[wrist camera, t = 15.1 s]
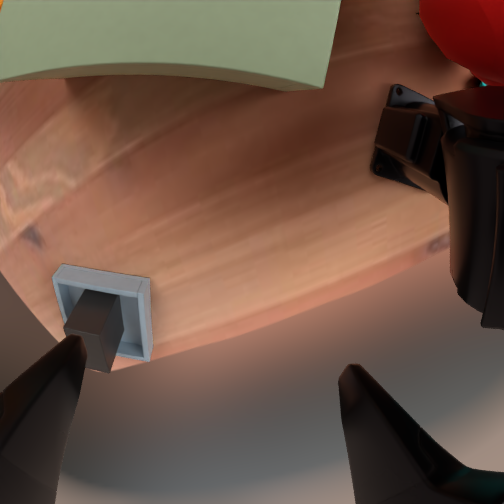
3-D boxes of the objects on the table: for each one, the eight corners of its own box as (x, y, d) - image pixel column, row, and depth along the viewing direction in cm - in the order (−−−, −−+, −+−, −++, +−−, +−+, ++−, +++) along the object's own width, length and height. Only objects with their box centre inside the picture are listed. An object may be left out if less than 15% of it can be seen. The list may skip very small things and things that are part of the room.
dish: (150, 277, 21) (143, 294, 19) (153, 346, 25) (149, 362, 23) (62, 263, 20) (51, 276, 18) (78, 330, 24) (71, 345, 22)
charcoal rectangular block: (119, 290, 21) (99, 336, 17) (124, 330, 23) (109, 374, 19) (86, 284, 21) (62, 327, 16) (94, 324, 23) (76, 365, 19)
